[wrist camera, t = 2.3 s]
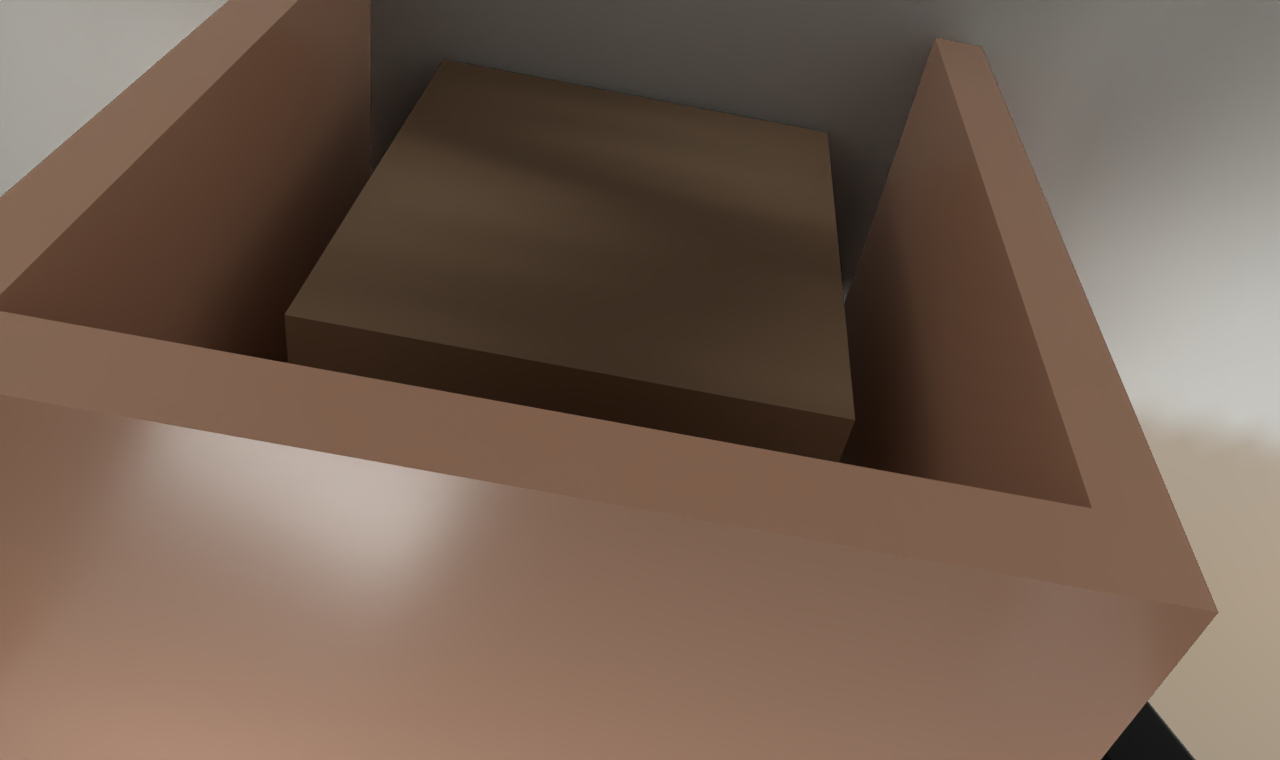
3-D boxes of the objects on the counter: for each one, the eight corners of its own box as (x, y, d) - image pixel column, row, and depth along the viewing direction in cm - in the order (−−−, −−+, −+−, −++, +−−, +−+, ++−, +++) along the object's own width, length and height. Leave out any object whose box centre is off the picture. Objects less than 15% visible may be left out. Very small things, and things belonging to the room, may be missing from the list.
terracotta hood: (339, 419, 15) (75, 961, 10) (321, -80, 11) (-190, 361, 5) (811, 504, 15) (837, 1088, 10) (981, 47, 11) (1217, 612, 5)
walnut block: (432, 361, 15) (309, 661, 11) (444, 59, 12) (284, 314, 8) (743, 419, 15) (733, 736, 11) (827, 132, 12) (855, 419, 8)
